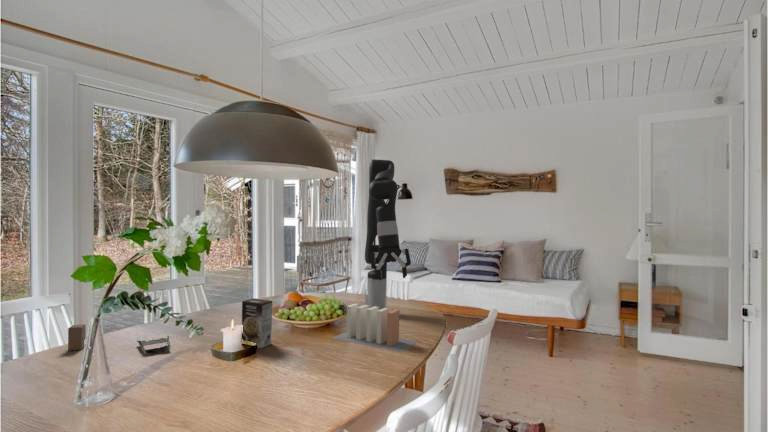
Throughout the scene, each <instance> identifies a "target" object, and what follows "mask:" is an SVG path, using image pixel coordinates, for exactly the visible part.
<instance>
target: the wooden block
mask: <svg viewBox="0 0 768 432" xmlns="http://www.w3.org/2000/svg"><path fill="white" fill-rule="evenodd" d="M86 327H87V326H86V324H84V323H82V324H72V325H71V326H70V327H68V330H67V335H68V338H67V350H68V351H69V352H70V351H72V350H73V351H82V350H83V349H84V348H85V347H84V340H85V338H86V330H87V329H86Z"/></svg>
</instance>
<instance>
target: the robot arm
mask: <svg viewBox="0 0 768 432" xmlns="http://www.w3.org/2000/svg"><path fill="white" fill-rule="evenodd" d="M394 177H395V163H394V162H393V161H392V160H390V159H388V160H387V159H377V158H376V159H371V160H370V162H369V167H368V184H369V185H368V203H367V216H366V217H367V218H366V219H367V220H366V223H367V225H366V238H365V239H366V240H365V248H364V249H365V250H364V261H365V264H368V265H370V267H371V269H372V270H369V271H368V272H367V282H366V283H367V288H366V290H367V292H366V293H365V302H364V303H365V304H364V305H369V308H372V307H374V306H376V307H379V310H381V309H383V308H387V272H388V271H387V270H388V263H390V262H391V263H396V262H397V263H398V264H399V265H401V266H402V267H401V271H402V278H403V279H406V277H408V272H407V271H408V269H407V268H408V266H410V265H411V255H410V250H409V248H404V249H401V247H400V240H399V229H398V225H397V216H396V215H397V214H396V201H397V196H398V190H399V189H398V184H397V182H396V181H395V180H394ZM386 200H388V202H387V203H386ZM376 238H377V240H378V241H377V242H378V243H377V244H374V242H375V240H376ZM402 254H403V255H404V256H405V259H406V262H404V261H403V260H402V258H401V255H402Z"/></svg>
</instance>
